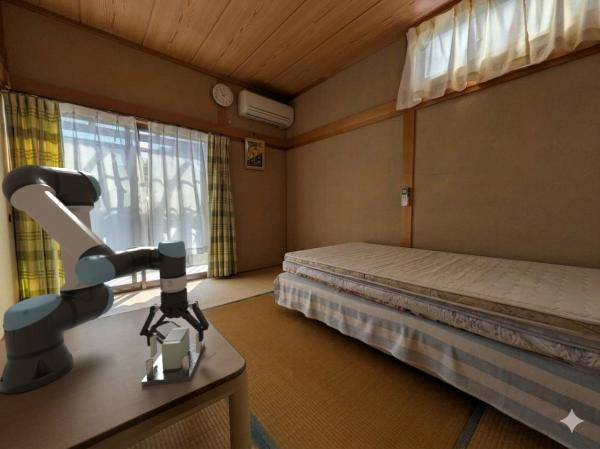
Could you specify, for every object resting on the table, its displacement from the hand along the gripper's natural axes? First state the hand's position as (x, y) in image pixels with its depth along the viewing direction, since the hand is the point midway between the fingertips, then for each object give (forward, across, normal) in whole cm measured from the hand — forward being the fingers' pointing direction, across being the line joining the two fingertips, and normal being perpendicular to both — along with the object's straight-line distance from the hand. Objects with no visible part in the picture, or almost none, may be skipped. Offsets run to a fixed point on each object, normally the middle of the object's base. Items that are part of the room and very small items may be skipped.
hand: (176, 352), depth 77 cm
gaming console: (+4, -10, +21) cm, 24 cm away
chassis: (+4, 0, 0) cm, 4 cm away
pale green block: (+2, 0, 0) cm, 2 cm away
